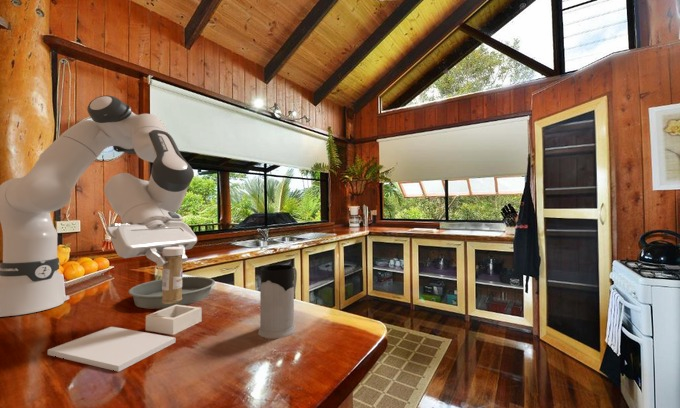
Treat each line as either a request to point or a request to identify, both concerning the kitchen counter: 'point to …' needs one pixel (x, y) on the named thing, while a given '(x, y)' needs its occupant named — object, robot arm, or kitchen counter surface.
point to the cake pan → (152, 292)
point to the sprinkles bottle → (172, 275)
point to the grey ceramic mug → (277, 301)
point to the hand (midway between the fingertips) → (174, 263)
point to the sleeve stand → (173, 319)
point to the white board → (112, 348)
